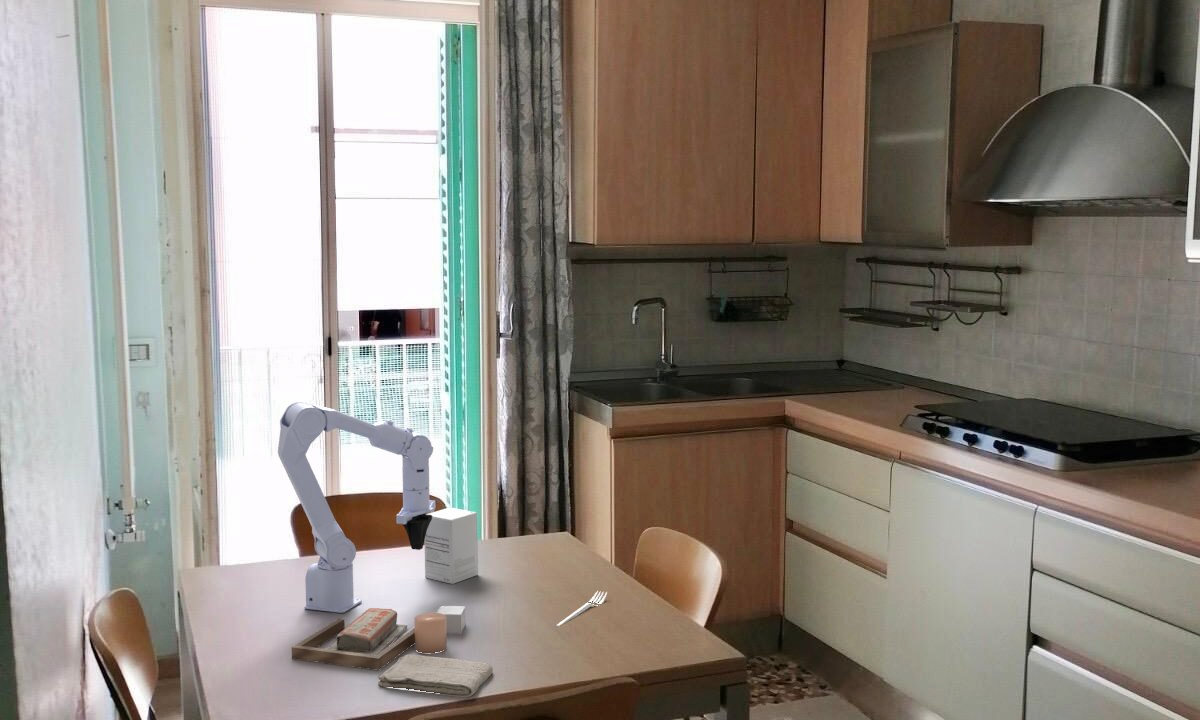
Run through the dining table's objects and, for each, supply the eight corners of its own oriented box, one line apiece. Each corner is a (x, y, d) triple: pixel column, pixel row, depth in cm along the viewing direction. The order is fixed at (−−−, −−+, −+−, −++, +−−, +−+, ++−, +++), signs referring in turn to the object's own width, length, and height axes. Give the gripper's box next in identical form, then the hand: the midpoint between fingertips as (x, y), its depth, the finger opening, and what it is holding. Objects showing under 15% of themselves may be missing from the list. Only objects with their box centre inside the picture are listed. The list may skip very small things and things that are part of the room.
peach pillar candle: (409, 652, 212) (408, 621, 211) (423, 641, 218) (423, 611, 217) (438, 655, 210) (437, 624, 210) (452, 644, 216) (451, 614, 215)
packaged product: (359, 604, 226) (407, 607, 224) (360, 627, 227) (407, 630, 225) (322, 635, 208) (373, 638, 207) (322, 660, 209) (373, 663, 207)
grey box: (436, 633, 222) (436, 614, 222) (440, 625, 227) (440, 605, 227) (461, 634, 222) (461, 614, 222) (465, 625, 227) (465, 606, 227)
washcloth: (402, 666, 206) (401, 649, 206) (495, 674, 202) (495, 658, 202) (374, 691, 195) (374, 674, 195) (473, 701, 191) (472, 683, 190)
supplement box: (450, 568, 266) (450, 506, 264) (479, 575, 261) (478, 511, 259) (423, 577, 258) (422, 513, 257) (452, 584, 253) (451, 519, 252)
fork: (550, 628, 227) (550, 619, 227) (595, 598, 245) (595, 590, 245) (564, 631, 226) (564, 622, 226) (609, 600, 243) (609, 592, 243)
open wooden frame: (291, 658, 208) (291, 647, 208) (339, 629, 224) (338, 618, 224) (378, 670, 203) (378, 658, 203) (420, 639, 219) (420, 628, 218)
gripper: (417, 496, 237) (418, 559, 238) (447, 482, 250) (448, 541, 252) (387, 493, 239) (388, 556, 240) (418, 480, 253) (420, 539, 254)
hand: (417, 548), depth 246 cm, fingers closed
